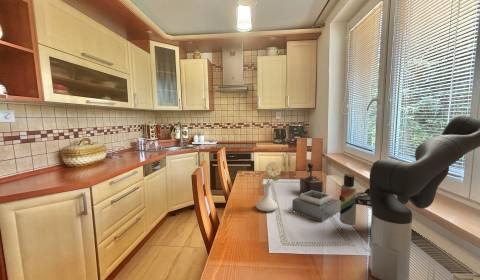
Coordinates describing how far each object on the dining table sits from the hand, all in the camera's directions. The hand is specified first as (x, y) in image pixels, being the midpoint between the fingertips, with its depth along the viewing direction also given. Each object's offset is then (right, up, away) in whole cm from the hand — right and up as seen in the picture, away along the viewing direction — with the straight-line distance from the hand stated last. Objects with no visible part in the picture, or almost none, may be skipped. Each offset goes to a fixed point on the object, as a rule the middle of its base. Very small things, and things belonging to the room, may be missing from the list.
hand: (341, 198), depth 85 cm
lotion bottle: (+3, -10, +1) cm, 11 cm away
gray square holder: (-4, -12, +19) cm, 23 cm away
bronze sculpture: (+3, -10, +48) cm, 49 cm away
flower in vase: (-27, -12, +23) cm, 37 cm away
